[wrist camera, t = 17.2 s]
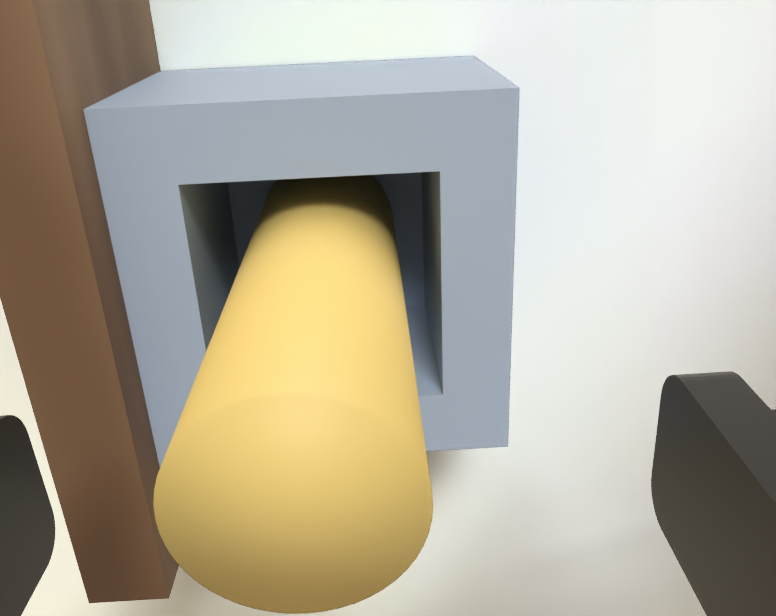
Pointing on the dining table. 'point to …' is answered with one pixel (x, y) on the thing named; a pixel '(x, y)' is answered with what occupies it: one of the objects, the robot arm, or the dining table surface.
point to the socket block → (313, 160)
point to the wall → (77, 283)
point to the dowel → (304, 414)
